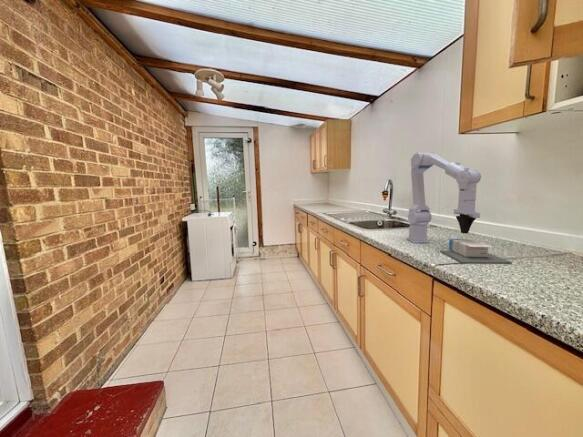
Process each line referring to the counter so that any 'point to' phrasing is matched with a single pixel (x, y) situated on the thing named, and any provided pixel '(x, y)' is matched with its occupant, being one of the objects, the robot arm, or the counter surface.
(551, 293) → the counter surface
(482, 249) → the ink box
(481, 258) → the mat
